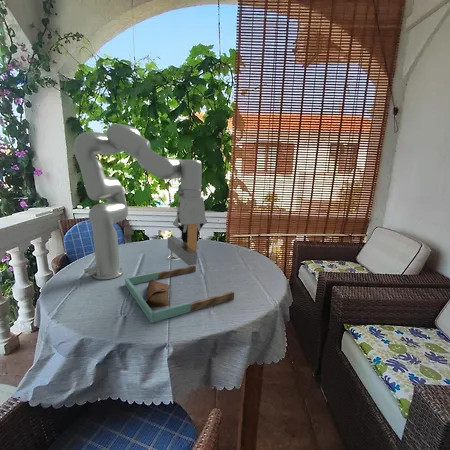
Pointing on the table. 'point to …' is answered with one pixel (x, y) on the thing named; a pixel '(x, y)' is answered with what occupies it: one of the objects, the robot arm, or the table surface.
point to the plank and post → (185, 246)
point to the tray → (147, 310)
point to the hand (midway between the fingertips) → (190, 240)
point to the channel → (199, 303)
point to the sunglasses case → (157, 294)
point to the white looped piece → (174, 257)
